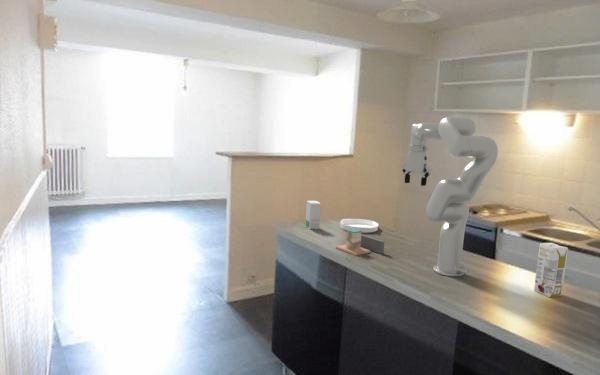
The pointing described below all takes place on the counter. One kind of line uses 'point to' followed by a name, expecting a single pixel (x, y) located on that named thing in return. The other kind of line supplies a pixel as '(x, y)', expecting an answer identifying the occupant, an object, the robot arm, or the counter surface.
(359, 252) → the terracotta tile
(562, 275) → the juice carton
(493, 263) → the counter surface
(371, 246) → the board
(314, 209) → the skincare box
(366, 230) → the pan
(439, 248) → the robot arm
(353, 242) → the block
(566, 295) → the counter surface
